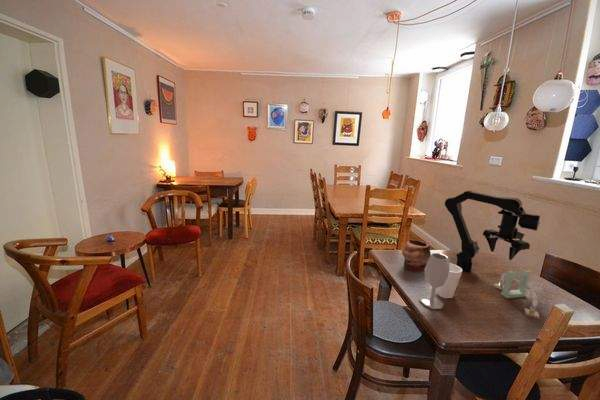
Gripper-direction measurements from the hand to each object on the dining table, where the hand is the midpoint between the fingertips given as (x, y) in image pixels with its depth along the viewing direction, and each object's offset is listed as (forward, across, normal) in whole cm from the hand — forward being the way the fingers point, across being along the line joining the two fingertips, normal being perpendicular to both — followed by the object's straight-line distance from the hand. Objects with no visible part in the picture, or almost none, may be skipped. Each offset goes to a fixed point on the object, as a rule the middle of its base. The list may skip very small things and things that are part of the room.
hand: (501, 255), depth 126 cm
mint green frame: (+13, -12, +4) cm, 18 cm away
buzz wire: (+13, -15, +7) cm, 21 cm away
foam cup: (+13, -7, +35) cm, 38 cm away
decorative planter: (+13, +18, +32) cm, 39 cm away
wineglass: (+13, -12, +46) cm, 49 cm away
